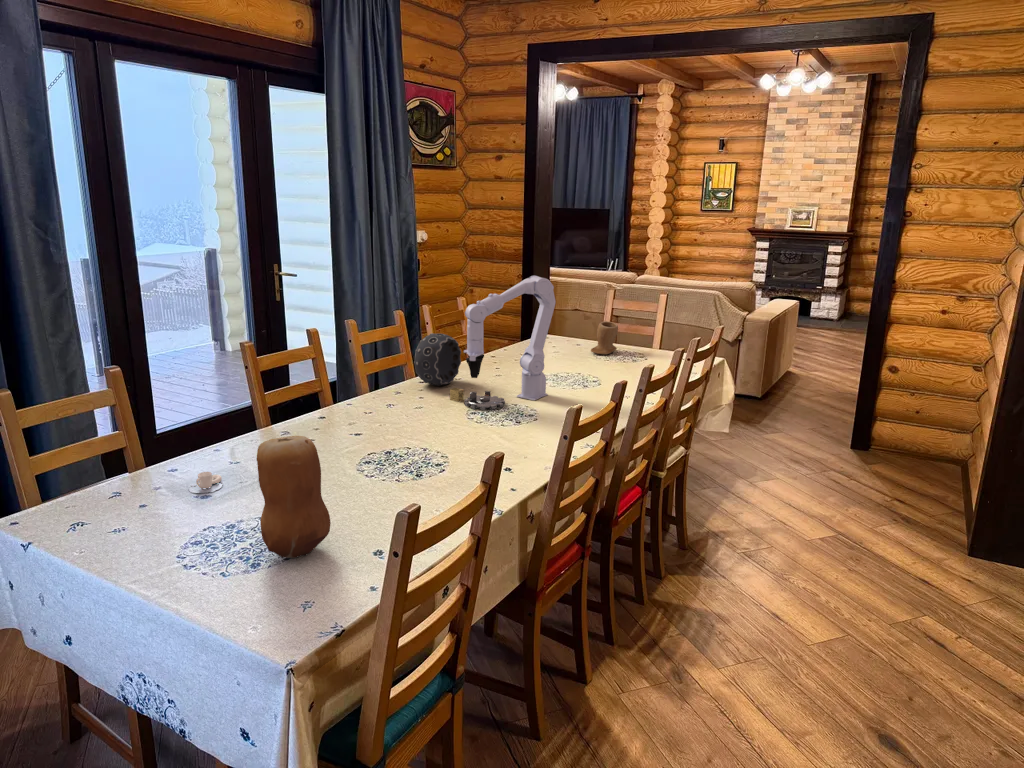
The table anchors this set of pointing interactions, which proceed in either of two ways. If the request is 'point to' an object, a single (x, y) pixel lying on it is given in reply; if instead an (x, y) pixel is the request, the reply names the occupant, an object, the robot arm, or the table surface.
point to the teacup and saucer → (207, 479)
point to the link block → (457, 394)
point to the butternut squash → (291, 496)
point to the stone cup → (606, 338)
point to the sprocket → (483, 401)
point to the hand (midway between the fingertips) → (475, 376)
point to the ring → (437, 359)
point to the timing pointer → (488, 393)
